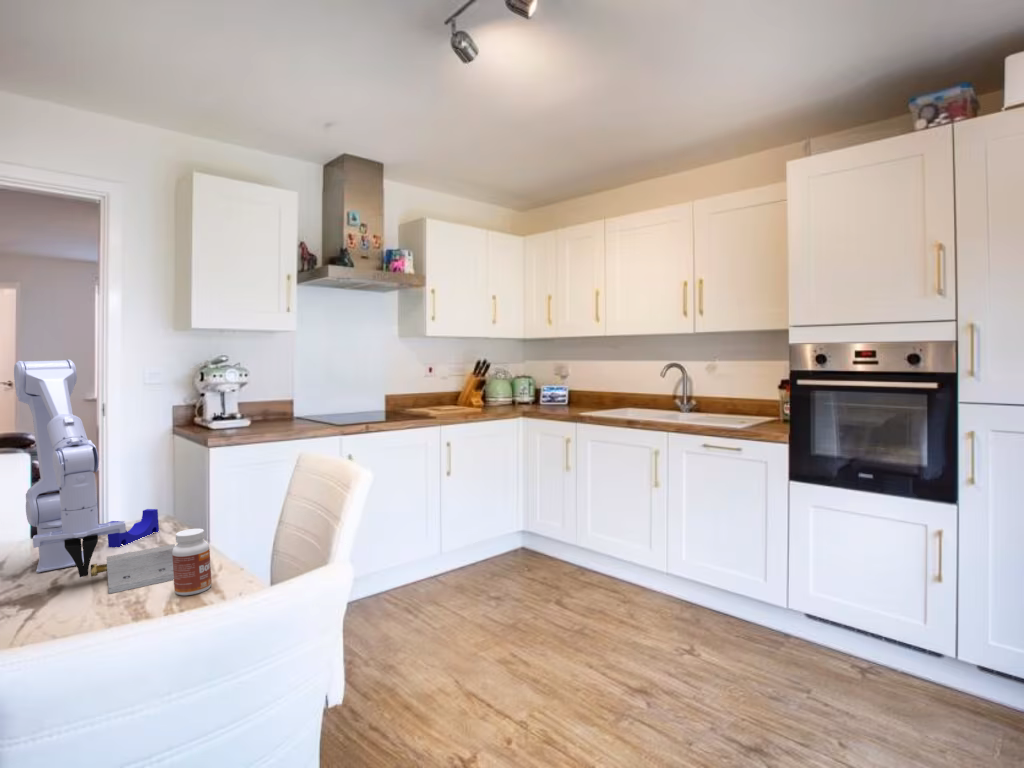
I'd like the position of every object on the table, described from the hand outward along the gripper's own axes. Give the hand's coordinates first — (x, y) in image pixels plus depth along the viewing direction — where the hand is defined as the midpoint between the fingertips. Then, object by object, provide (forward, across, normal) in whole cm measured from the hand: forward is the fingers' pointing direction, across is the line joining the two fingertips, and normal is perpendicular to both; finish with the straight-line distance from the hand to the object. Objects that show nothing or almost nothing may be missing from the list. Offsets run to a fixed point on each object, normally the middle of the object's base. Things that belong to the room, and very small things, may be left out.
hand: (84, 575), depth 115 cm
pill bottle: (+2, +17, -18) cm, 25 cm away
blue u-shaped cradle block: (+2, +9, +28) cm, 29 cm away
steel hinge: (+2, +10, 0) cm, 10 cm away
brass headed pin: (+1, +8, 0) cm, 8 cm away
